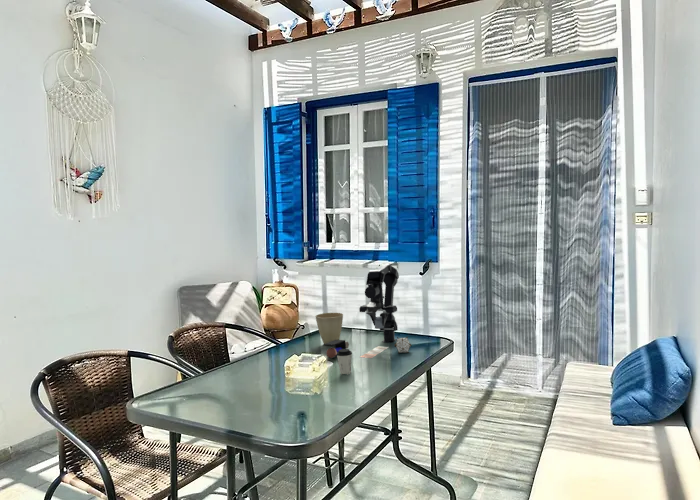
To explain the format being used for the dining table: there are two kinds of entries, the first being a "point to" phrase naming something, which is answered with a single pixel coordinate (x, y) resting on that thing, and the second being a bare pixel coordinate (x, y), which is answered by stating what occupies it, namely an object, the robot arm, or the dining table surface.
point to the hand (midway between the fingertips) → (379, 325)
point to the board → (374, 352)
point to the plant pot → (329, 326)
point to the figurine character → (336, 347)
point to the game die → (403, 345)
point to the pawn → (378, 322)
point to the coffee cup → (344, 360)
